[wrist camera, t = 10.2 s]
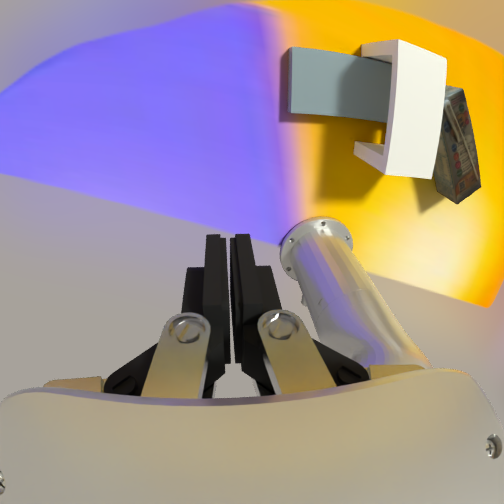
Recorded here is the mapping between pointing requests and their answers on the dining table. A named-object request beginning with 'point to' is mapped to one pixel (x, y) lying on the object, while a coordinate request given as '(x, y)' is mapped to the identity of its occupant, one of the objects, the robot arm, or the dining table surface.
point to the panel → (338, 85)
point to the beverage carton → (456, 150)
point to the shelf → (408, 110)
